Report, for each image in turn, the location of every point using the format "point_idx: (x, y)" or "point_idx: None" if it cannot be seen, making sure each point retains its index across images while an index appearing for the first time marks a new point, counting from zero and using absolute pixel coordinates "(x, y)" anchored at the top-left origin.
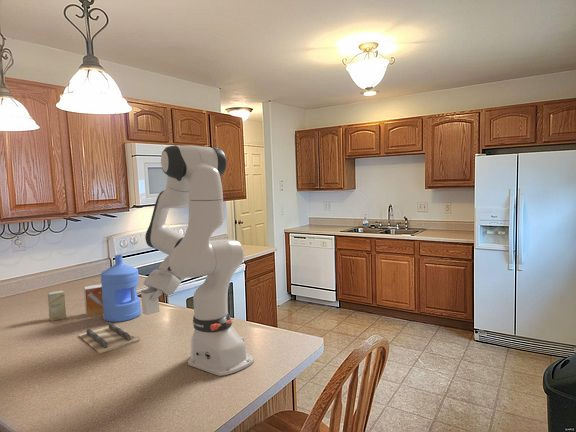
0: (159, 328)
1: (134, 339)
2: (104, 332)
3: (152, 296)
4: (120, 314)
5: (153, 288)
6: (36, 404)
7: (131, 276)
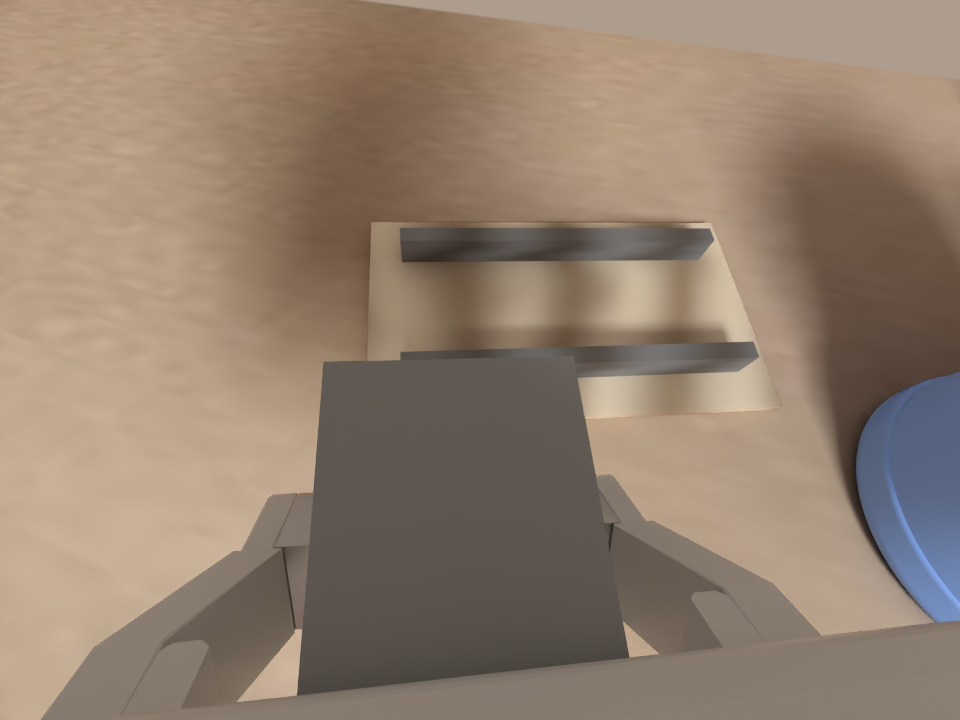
0: None
1: None
2: (662, 317)
3: (276, 532)
4: (902, 451)
5: None
6: (125, 16)
7: None
